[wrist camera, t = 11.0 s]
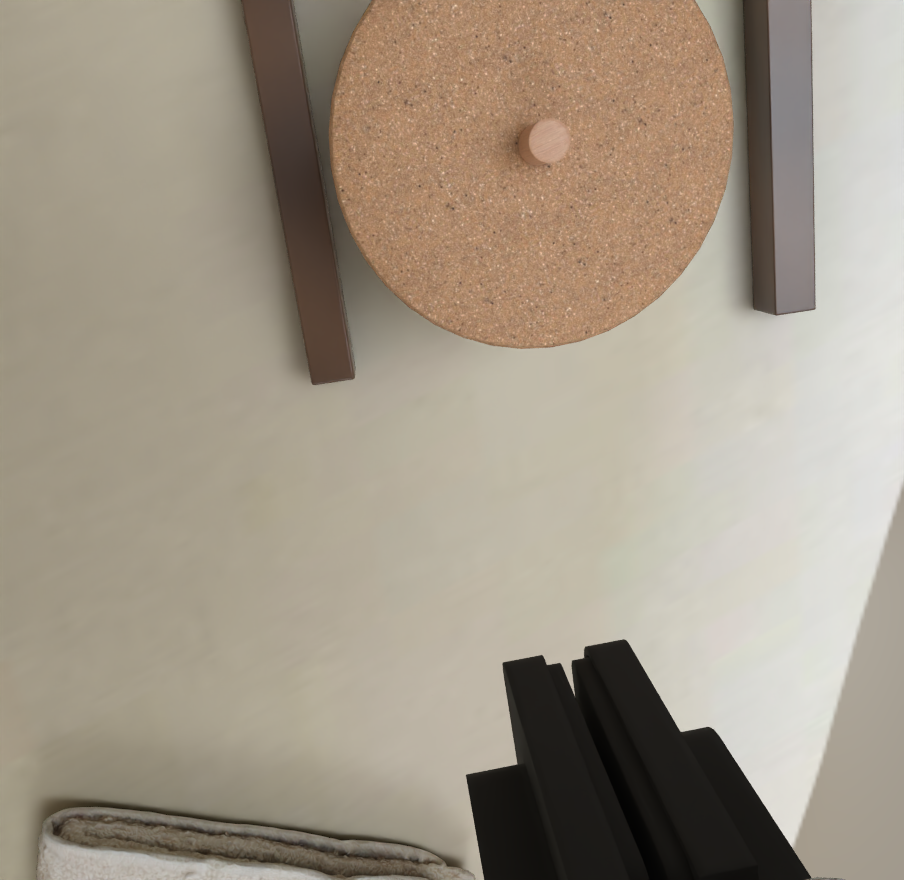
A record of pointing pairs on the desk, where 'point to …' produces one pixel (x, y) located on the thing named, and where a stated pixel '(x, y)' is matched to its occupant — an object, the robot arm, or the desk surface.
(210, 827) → the washcloth
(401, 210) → the trinket box
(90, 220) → the desk surface
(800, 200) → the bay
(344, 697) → the desk surface
